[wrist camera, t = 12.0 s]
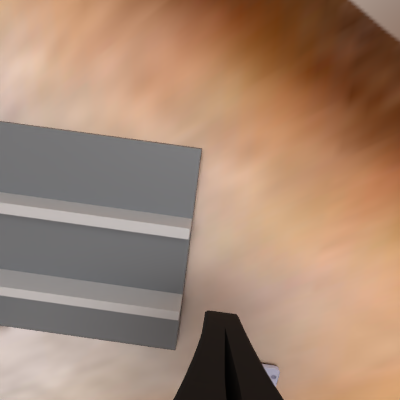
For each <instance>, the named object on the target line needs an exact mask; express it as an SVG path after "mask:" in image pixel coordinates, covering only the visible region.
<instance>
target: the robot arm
mask: <svg viewBox="0 0 400 400" xmlns="http://www.w3.org/2000/svg"><path fill="white" fill-rule="evenodd" d="M279 374H280V371H279V368H278V367H277V366H274V365H267V364H262V363H261V362H260V360H259V358H258V356H257V354H256V352H255V351H254V349H253V347H252V345H251V343H250V341H249V339H248V337H247V335H246V333H245V331H244V328H243V326H242V324H241V322H240V319H239V317H238V316H237V314H230V313H223V312H216V311H207V312H205V317H204V323H203V329H202V334H201V338H200V340H199V343H198V346H197V349H196V352H195V354H194V357H193V359H192V361H191V364H190V366H189V368H188V371H187V373H186V375H185V377H184V379H183V382H182V384H181V386H180V388H179V390H178V392H177V394H176V396H175V397H174V399H173V400H283V398H282V396H281V395H280V393H279V392H278V390H277V389H276V384H277V381H278V378H279Z"/></svg>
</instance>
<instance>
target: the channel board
mask: <svg viewBox="0 0 400 400" xmlns="http://www.w3.org/2000/svg"><path fill="white" fill-rule="evenodd" d="M201 151H202V148H195V147H187V146H180V145H173V144H165V143H158V142H151V141H143V140H136V139H128V138H121V137H114V136H106V135H99V134H92V133H84V132H77V131H70V130H62V129H55V128H48V127H40V126H33V125H25V124H18V123H11V122H3V121H0V325H1V326H8V327H15V328H22V329H29V330H36V331H43V332H50V333H57V334H64V335H71V336H78V337H85V338H92V339H99V340H106V341H113V342H120V343H127V344H134V345H141V346H148V347H155V348H163V349H170V350H175V349H176V343H177V336H178V329H179V321H180V313H181V305H182V298H183V290H184V282H185V275H186V267H187V259H188V251H189V244H190V236H191V228H192V221H193V213H194V205H195V197H196V190H197V182H198V174H199V167H200V159H201Z"/></svg>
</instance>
